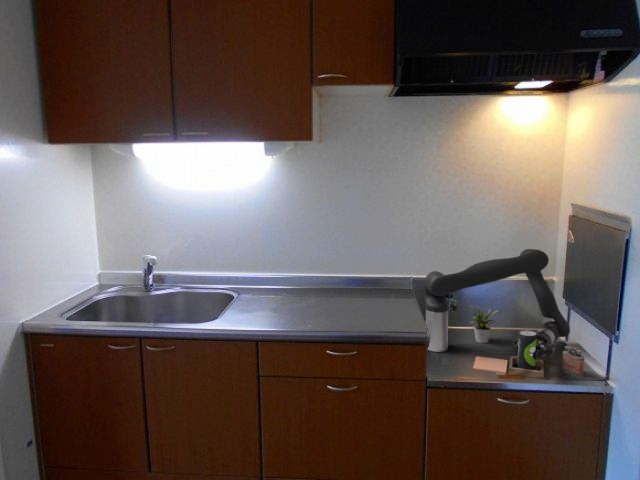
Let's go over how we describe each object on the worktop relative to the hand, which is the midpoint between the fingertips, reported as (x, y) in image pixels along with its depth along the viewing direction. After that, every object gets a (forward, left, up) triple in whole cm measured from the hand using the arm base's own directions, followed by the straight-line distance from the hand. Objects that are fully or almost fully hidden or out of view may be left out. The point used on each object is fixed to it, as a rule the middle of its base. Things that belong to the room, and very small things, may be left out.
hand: (526, 351), depth 189 cm
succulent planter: (+16, +3, -8) cm, 18 cm away
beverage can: (0, 0, -8) cm, 8 cm away
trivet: (-13, 0, -8) cm, 15 cm away
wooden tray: (0, 0, -8) cm, 8 cm away
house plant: (-20, +26, -8) cm, 34 cm away
